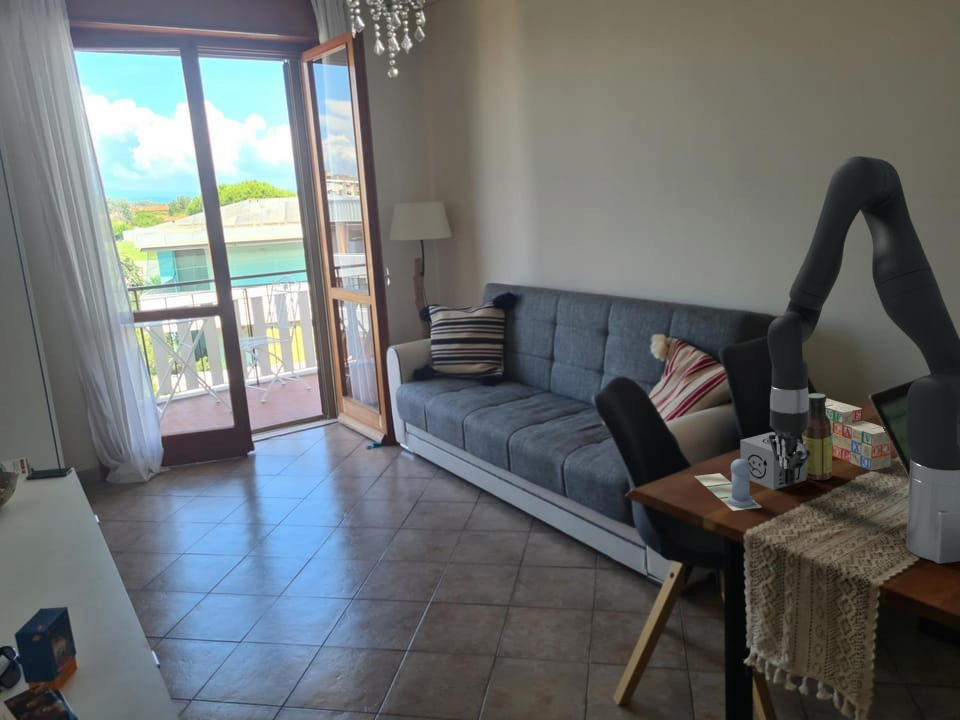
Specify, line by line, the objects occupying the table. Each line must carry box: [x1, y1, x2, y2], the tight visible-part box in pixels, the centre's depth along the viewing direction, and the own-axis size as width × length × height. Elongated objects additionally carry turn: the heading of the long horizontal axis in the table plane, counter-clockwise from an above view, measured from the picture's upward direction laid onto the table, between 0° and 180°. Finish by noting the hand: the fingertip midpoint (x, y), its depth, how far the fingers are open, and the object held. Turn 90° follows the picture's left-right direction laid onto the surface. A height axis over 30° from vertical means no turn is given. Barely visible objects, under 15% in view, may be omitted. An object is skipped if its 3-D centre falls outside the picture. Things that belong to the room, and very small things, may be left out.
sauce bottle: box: [802, 392, 833, 481], centre depth 165 cm, size 7×6×20 cm
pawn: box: [727, 458, 754, 508], centre depth 153 cm, size 5×5×10 cm
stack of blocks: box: [825, 397, 893, 471], centre depth 177 cm, size 21×6×12 cm, turn 17°
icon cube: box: [739, 431, 807, 491], centre depth 165 cm, size 10×10×10 cm
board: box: [694, 472, 762, 512], centre depth 160 cm, size 21×7×1 cm, turn 6°
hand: (787, 483), depth 154 cm, fingers closed
